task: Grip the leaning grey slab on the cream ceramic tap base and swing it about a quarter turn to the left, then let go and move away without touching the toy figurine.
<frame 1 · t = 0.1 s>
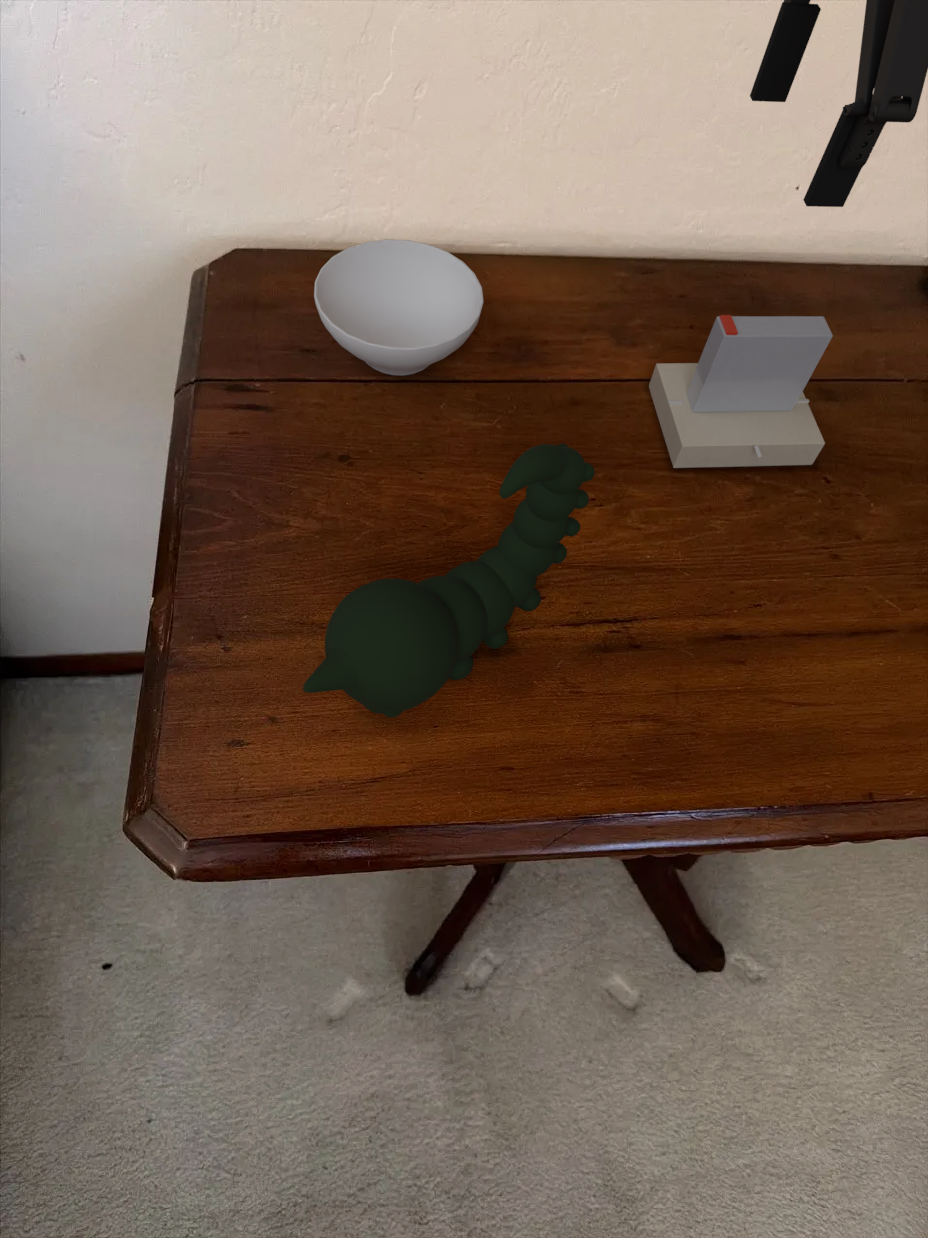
hand: (793, 148, 65), 27 cm above the table, tool pointing down, fingers open, 13 cm apart
bowl: (397, 351, 89), on the table
tap base: (728, 424, 87), on the table
toy figurine: (438, 650, 71), on the table
leaning grey slab: (756, 364, 81), point 8 cm above the table, hinge at 0.0°
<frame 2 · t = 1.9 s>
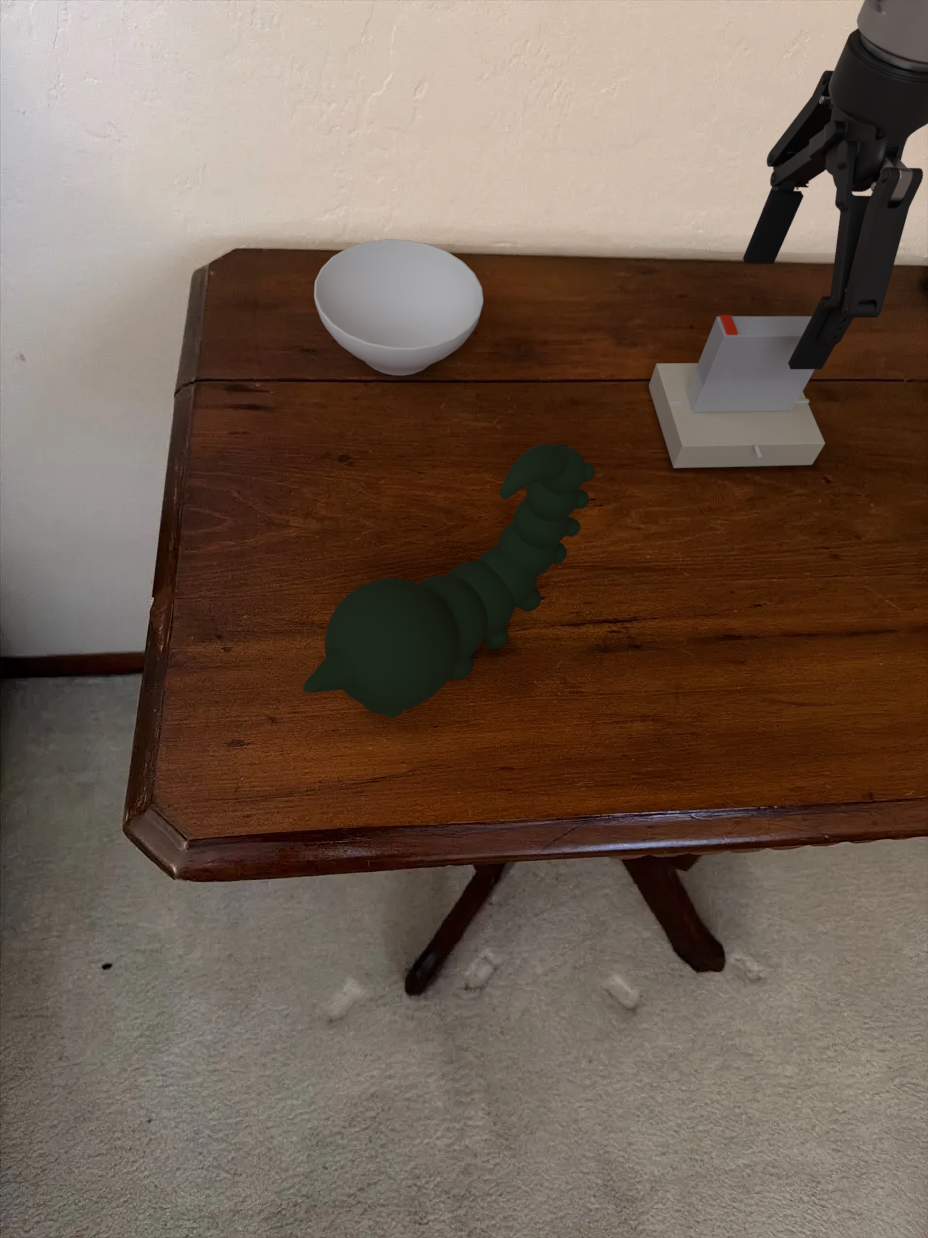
hand: (780, 311, 76), 14 cm above the table, tool pointing down, fingers open, 13 cm apart
nothing on the table moved.
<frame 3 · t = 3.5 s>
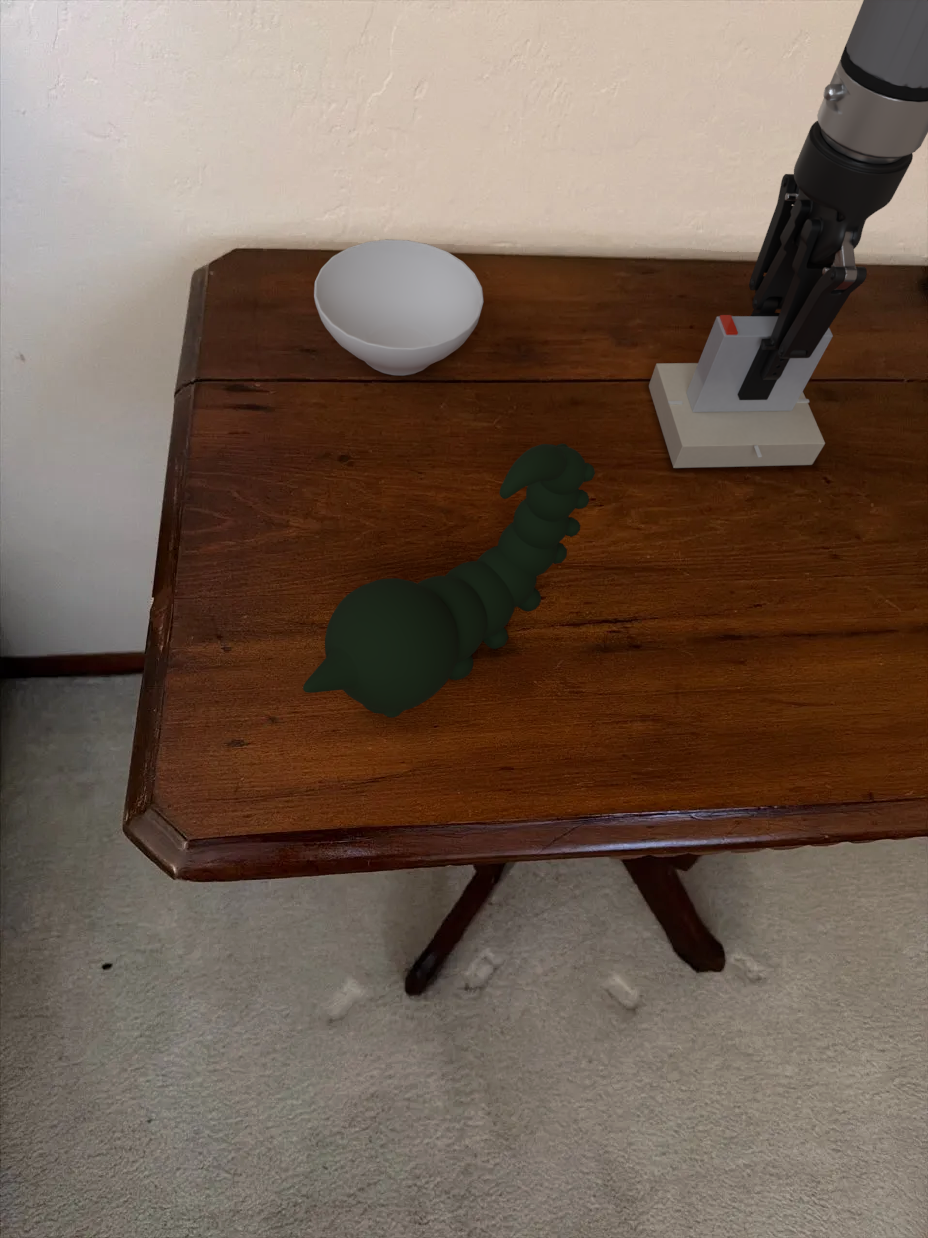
hand: (747, 383, 83), 5 cm above the table, tool pointing down, fingers closed on leaning grey slab, 3 cm apart
leaning grey slab: (756, 364, 81), point 8 cm above the table, hinge at 0.0°, touching gripper
everything else where it was.
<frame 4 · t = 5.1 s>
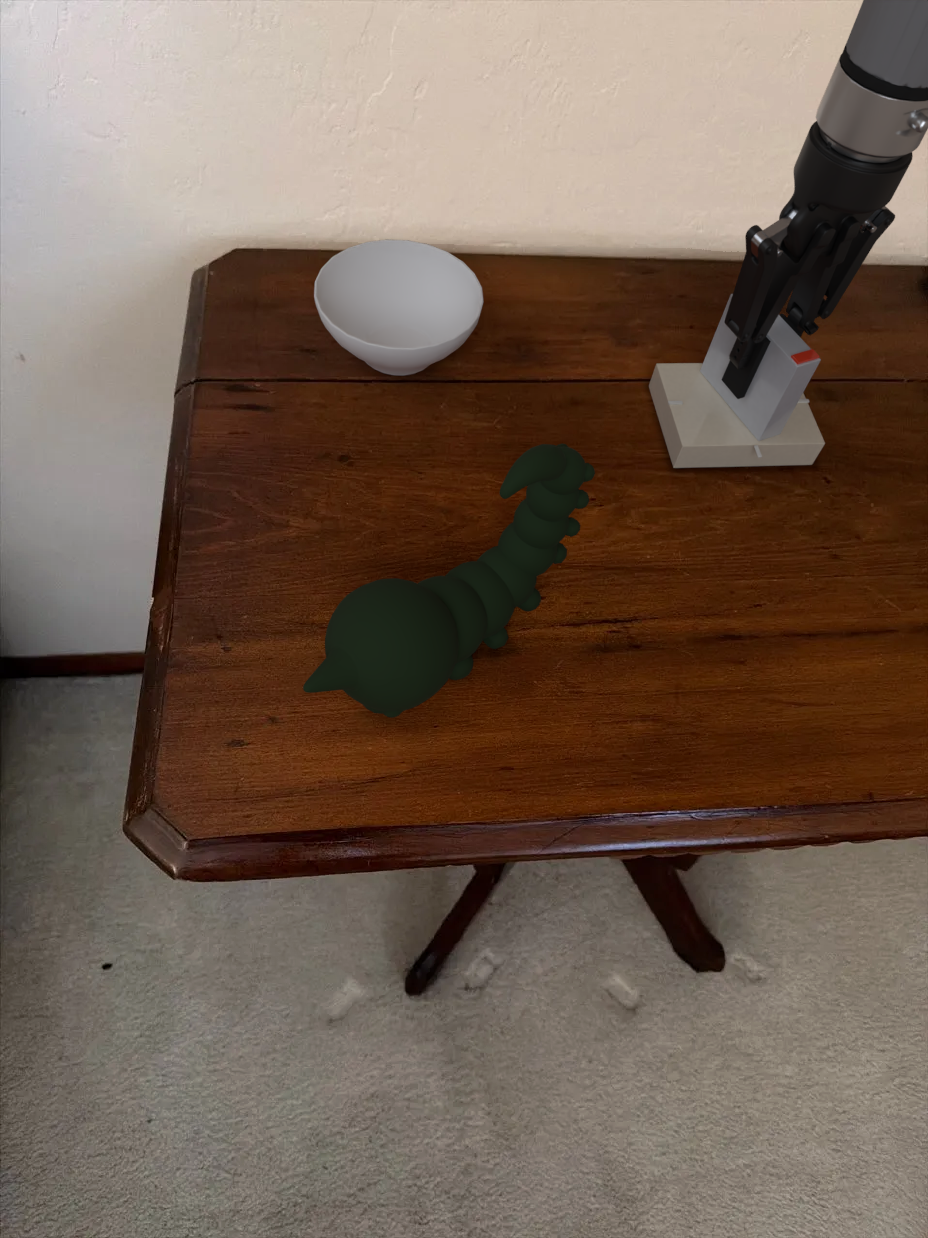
hand: (747, 383, 83), 5 cm above the table, tool pointing down, fingers closed on leaning grey slab, 3 cm apart
leaning grey slab: (756, 364, 81), point 8 cm above the table, hinge at 109.4°, touching gripper
everything else where it was.
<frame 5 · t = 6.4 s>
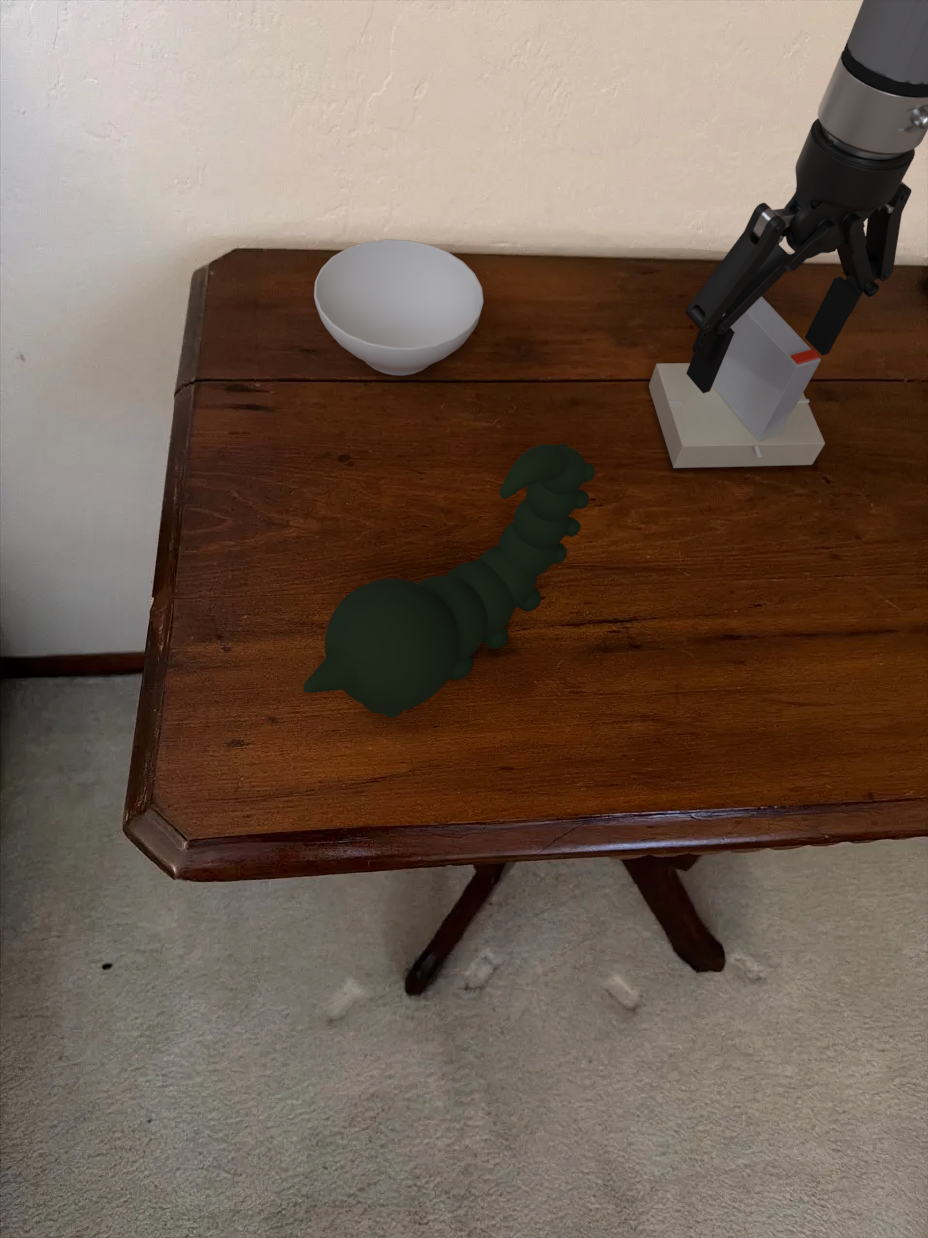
hand: (758, 363, 81), 8 cm above the table, tool pointing down, fingers open, 13 cm apart
leaning grey slab: (756, 364, 81), point 8 cm above the table, hinge at 109.3°
everything else where it was.
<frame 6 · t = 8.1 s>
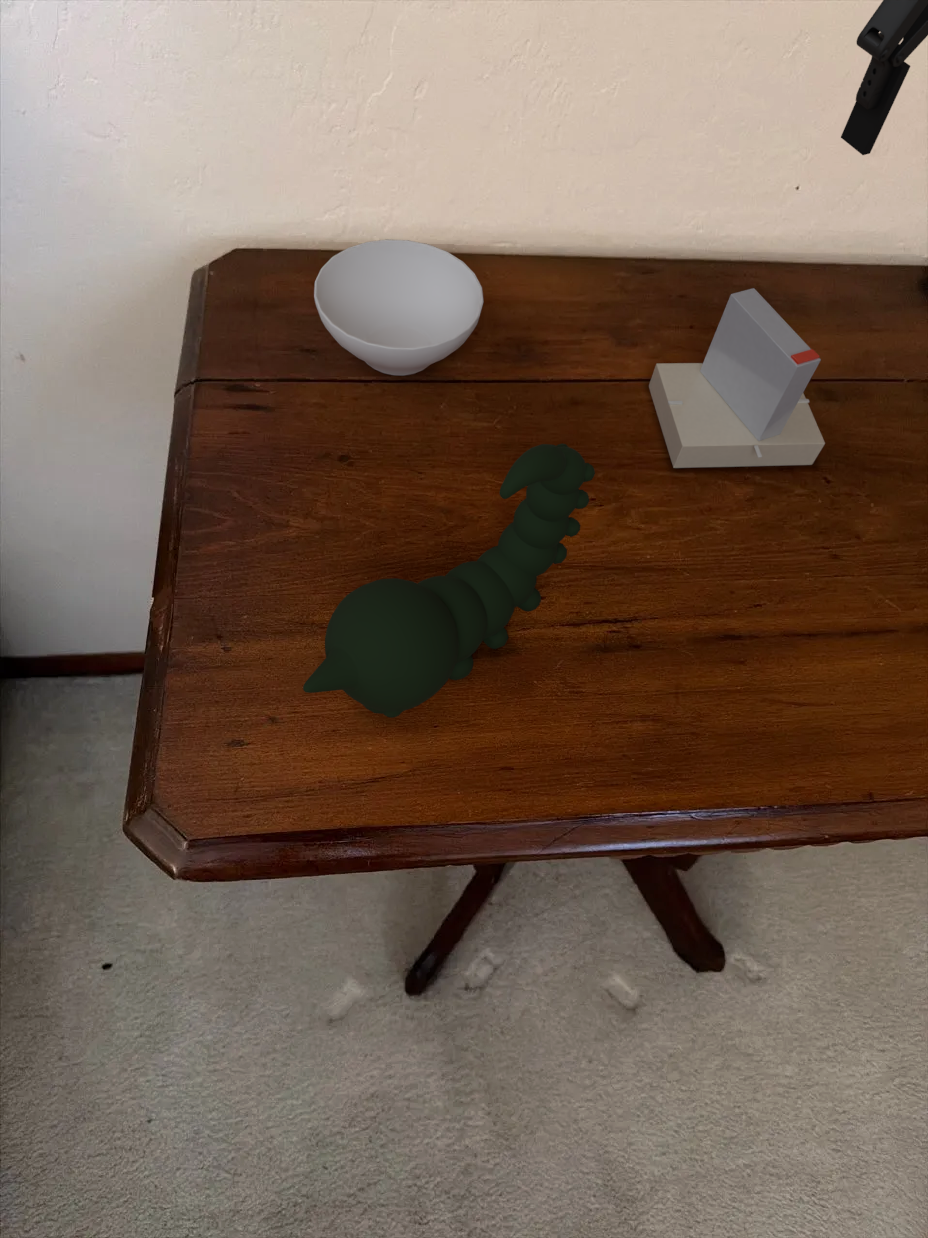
hand: (917, 129, 72), 25 cm above the table, tool pointing down, fingers open, 13 cm apart
nothing on the table moved.
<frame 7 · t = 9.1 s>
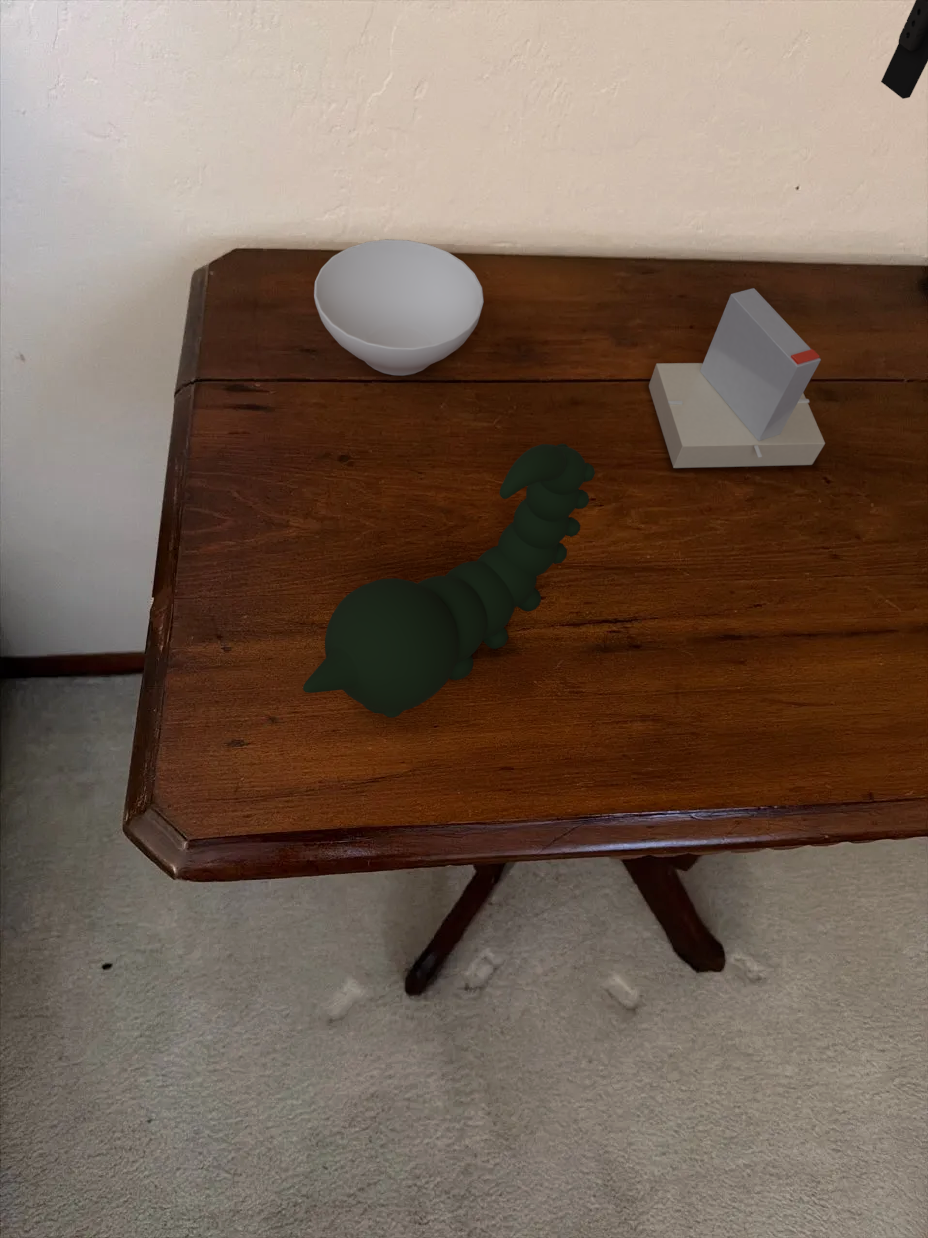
nothing on the table moved.
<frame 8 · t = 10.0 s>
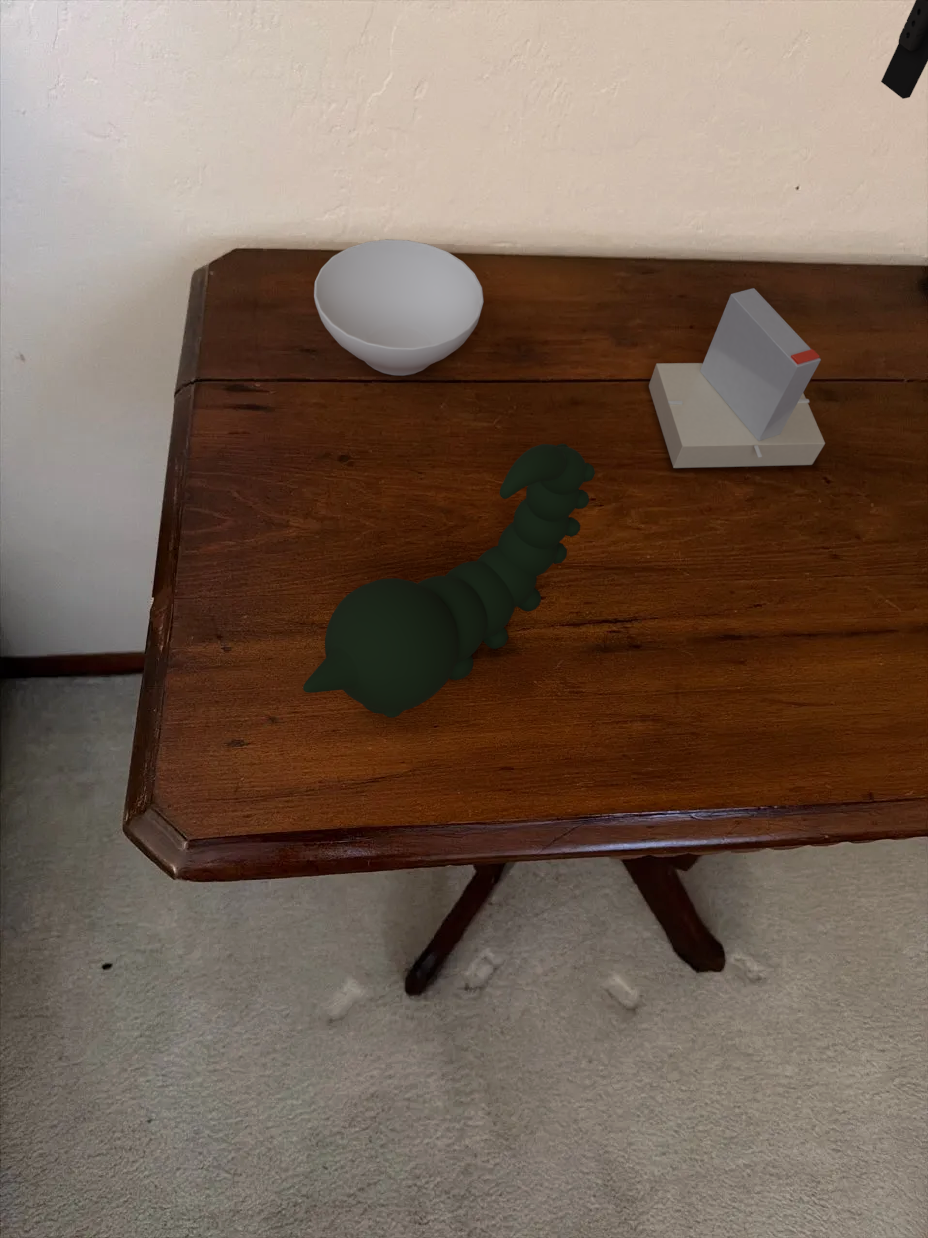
nothing on the table moved.
at the end: leaning grey slab at +109° (first picture: +0°); toy figurine moved 0.2 cm from its start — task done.
